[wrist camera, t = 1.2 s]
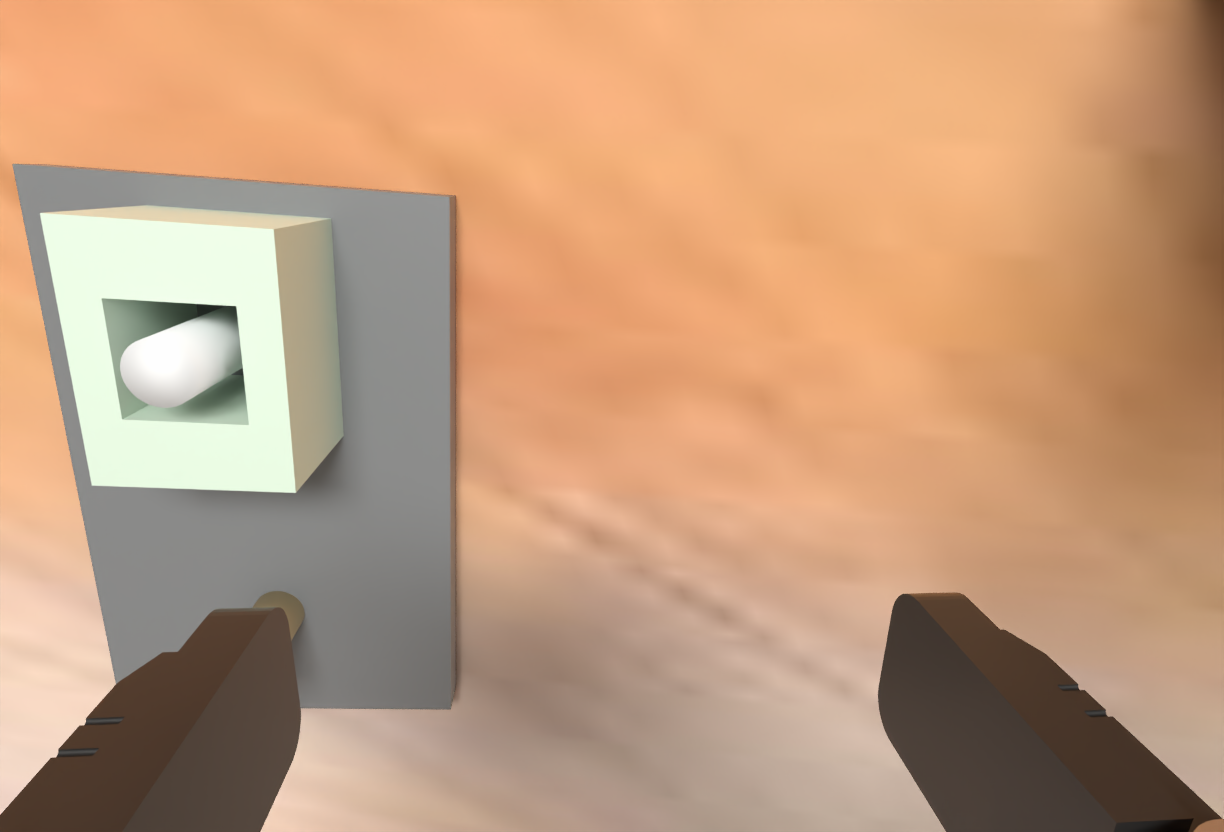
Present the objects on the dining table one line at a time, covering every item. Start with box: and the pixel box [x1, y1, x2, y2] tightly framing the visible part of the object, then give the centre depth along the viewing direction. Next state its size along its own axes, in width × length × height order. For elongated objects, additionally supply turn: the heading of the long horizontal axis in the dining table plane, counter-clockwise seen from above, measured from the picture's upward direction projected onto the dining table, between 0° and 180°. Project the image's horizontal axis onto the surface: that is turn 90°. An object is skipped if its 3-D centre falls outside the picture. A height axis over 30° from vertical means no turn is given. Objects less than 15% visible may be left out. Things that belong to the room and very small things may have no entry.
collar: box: [40, 205, 344, 493], centre depth 22 cm, size 8×6×5 cm
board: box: [13, 164, 456, 709], centre depth 24 cm, size 22×14×8 cm, turn 176°
